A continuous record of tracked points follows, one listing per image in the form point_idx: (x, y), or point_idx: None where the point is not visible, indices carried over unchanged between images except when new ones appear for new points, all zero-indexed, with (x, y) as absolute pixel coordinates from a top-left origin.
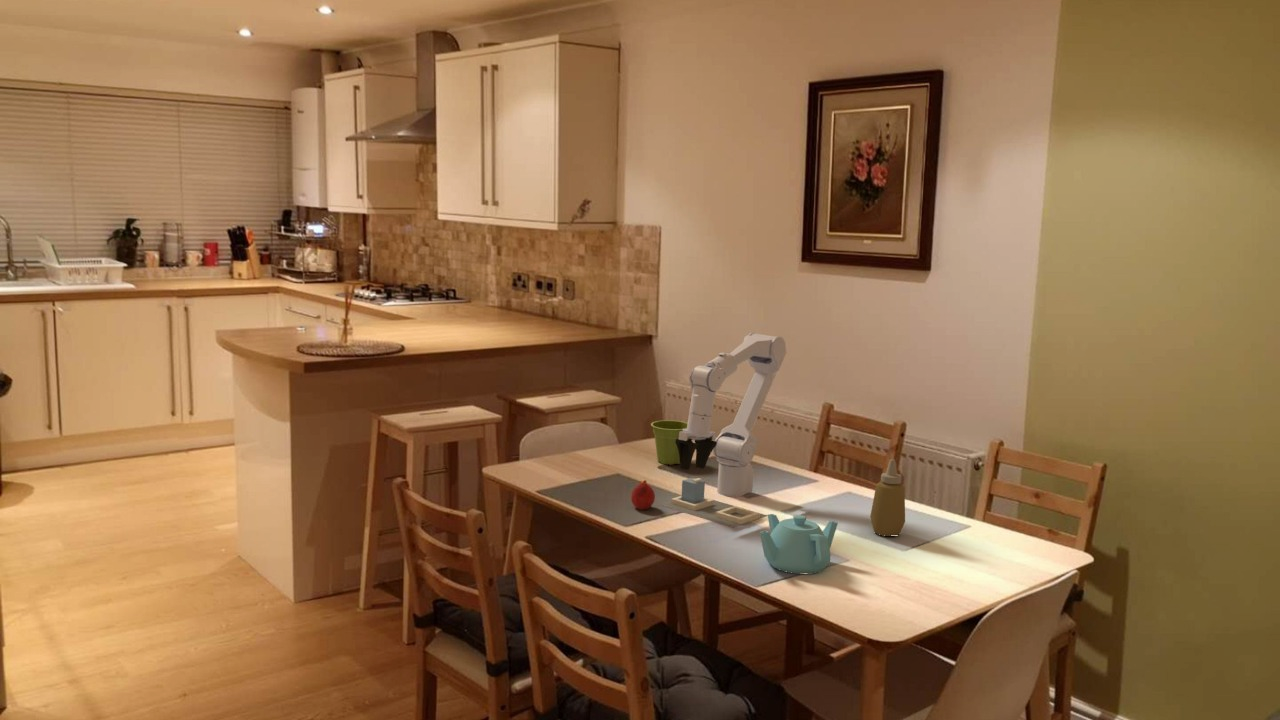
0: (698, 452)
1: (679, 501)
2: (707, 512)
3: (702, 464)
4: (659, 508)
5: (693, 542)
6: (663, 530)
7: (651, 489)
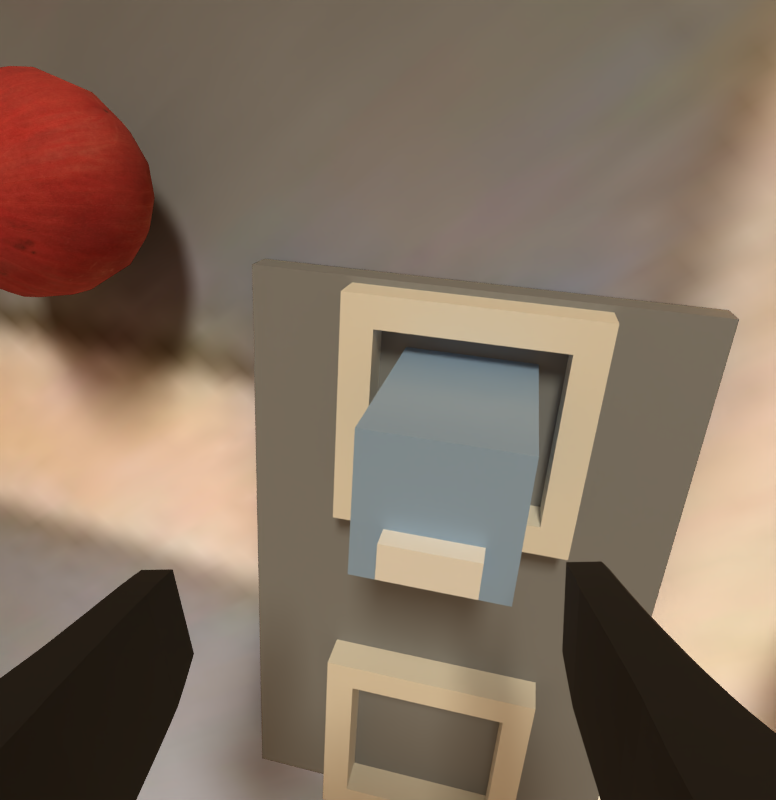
0: (646, 757)
1: (338, 379)
2: None
3: (575, 683)
4: (275, 225)
5: (20, 655)
6: (6, 484)
7: (12, 279)
